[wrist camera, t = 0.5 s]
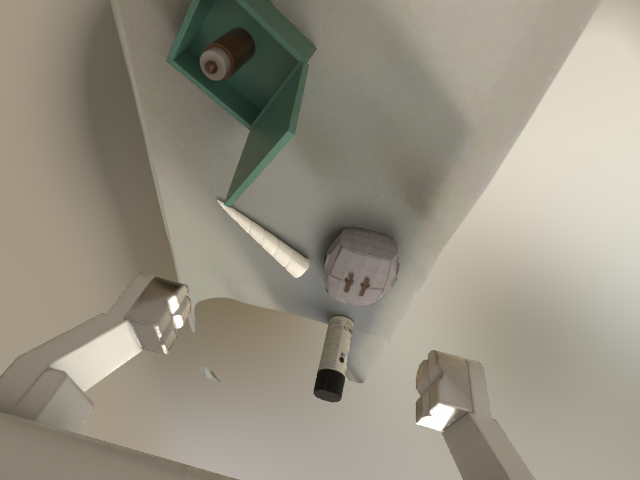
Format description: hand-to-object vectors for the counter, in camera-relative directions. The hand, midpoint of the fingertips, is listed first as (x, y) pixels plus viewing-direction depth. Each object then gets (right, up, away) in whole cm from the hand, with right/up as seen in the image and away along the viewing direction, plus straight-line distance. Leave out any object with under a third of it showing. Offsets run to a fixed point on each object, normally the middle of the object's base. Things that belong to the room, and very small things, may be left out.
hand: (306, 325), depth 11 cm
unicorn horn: (-11, +4, +64) cm, 65 cm away
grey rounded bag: (+9, -2, +63) cm, 64 cm away
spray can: (+6, -19, +81) cm, 83 cm away
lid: (-6, +16, +31) cm, 35 cm away
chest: (-10, +30, +38) cm, 49 cm away
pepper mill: (-11, +30, +37) cm, 49 cm away
